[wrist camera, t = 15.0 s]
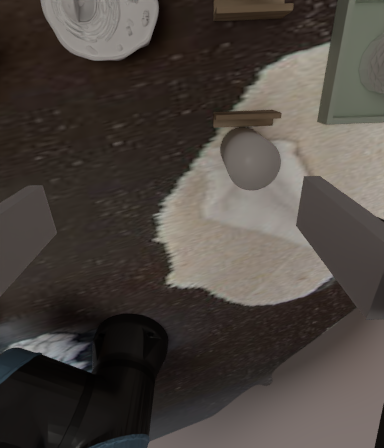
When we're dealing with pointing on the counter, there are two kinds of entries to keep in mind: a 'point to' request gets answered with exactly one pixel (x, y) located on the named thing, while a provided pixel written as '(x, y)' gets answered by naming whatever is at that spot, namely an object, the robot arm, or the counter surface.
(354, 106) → the tray
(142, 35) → the cell model
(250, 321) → the counter surface
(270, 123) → the rack
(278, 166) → the grey tapered cylinder
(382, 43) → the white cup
